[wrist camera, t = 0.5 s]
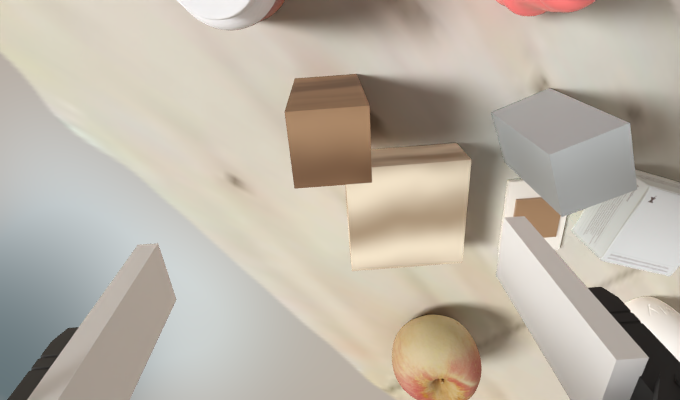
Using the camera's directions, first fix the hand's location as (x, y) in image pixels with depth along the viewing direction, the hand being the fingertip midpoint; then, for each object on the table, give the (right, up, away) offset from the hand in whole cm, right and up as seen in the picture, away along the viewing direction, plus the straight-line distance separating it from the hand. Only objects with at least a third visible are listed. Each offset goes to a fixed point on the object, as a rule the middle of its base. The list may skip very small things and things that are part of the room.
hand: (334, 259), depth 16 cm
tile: (+19, +1, +24) cm, 30 cm away
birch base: (+6, +2, +22) cm, 23 cm away
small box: (+28, +2, +24) cm, 37 cm away
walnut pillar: (-1, +10, +18) cm, 21 cm away
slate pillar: (+16, +9, +20) cm, 27 cm away
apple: (+10, -12, +30) cm, 34 cm away
